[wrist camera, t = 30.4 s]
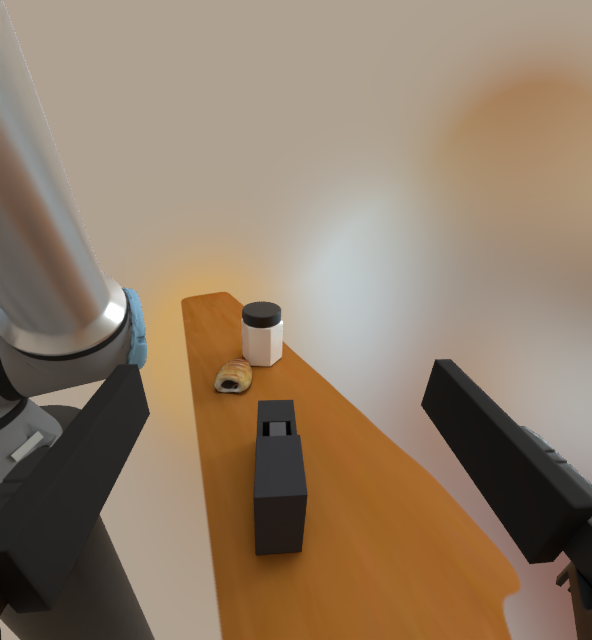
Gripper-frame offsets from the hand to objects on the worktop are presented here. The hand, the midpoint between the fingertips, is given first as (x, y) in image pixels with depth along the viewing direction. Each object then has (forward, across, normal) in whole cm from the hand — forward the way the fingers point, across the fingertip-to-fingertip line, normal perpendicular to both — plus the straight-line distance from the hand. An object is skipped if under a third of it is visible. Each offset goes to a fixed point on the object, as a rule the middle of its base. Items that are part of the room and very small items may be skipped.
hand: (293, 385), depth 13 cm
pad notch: (+18, 0, -28) cm, 33 cm away
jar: (+44, -2, -28) cm, 53 cm away
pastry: (+36, -8, -28) cm, 46 cm away
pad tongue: (+11, 0, -28) cm, 30 cm away
